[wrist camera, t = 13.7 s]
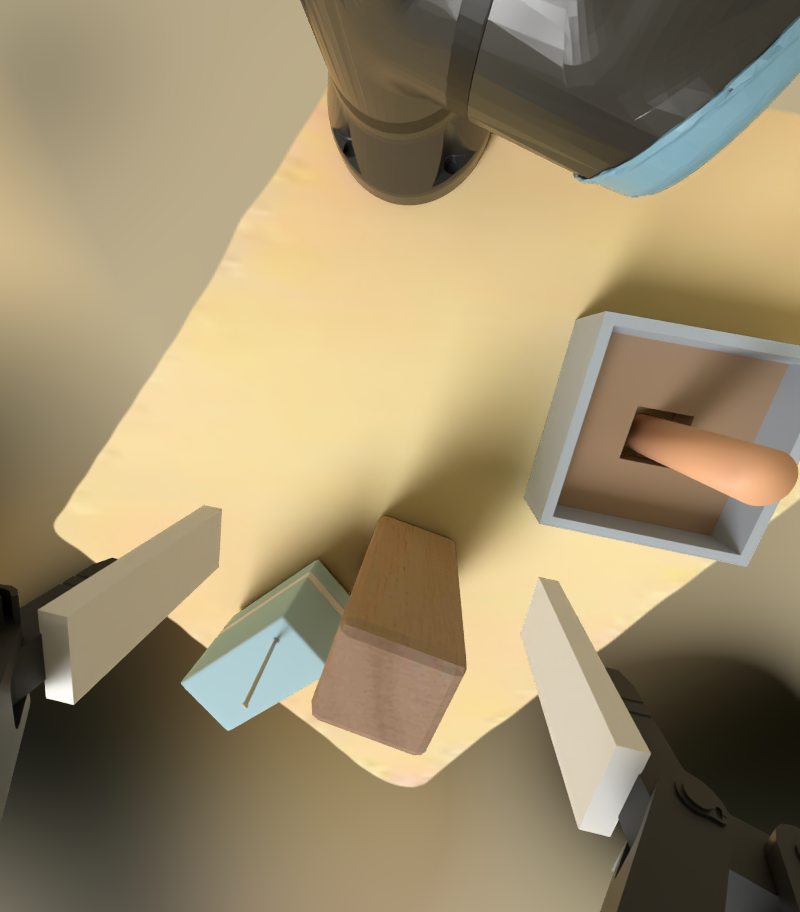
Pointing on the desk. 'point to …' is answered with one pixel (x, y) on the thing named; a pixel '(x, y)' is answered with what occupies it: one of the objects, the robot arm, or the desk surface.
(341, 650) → the wooden block
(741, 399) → the bore box
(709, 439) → the peg
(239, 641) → the radio
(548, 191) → the desk surface
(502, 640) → the desk surface
